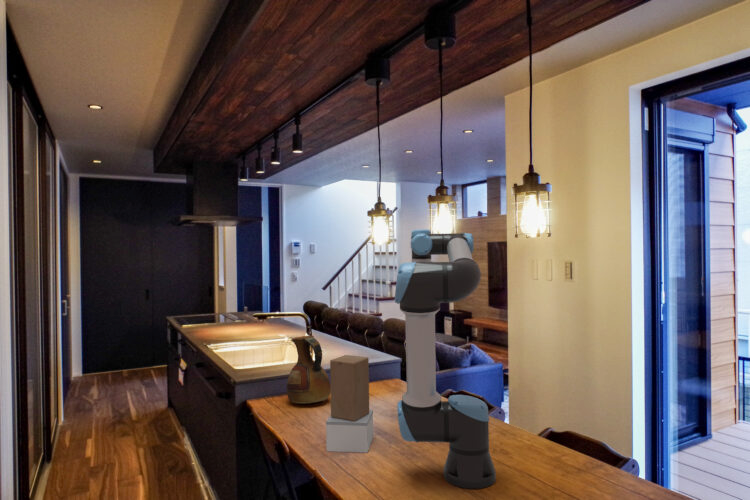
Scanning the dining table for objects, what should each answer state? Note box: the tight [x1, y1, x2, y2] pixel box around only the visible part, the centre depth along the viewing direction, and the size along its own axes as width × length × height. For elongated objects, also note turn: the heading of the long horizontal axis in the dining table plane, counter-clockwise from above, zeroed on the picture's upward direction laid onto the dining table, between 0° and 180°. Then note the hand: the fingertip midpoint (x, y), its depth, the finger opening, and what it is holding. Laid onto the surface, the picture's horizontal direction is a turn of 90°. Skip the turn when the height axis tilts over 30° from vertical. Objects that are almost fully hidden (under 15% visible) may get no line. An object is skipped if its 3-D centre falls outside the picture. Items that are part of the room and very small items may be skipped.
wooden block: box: [329, 354, 370, 421], centre depth 177 cm, size 10×10×20 cm
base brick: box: [325, 409, 374, 454], centre depth 177 cm, size 14×14×10 cm
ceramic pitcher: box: [286, 335, 331, 404], centre depth 228 cm, size 20×20×30 cm
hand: (422, 326), depth 192 cm, fingers open, 13 cm apart
